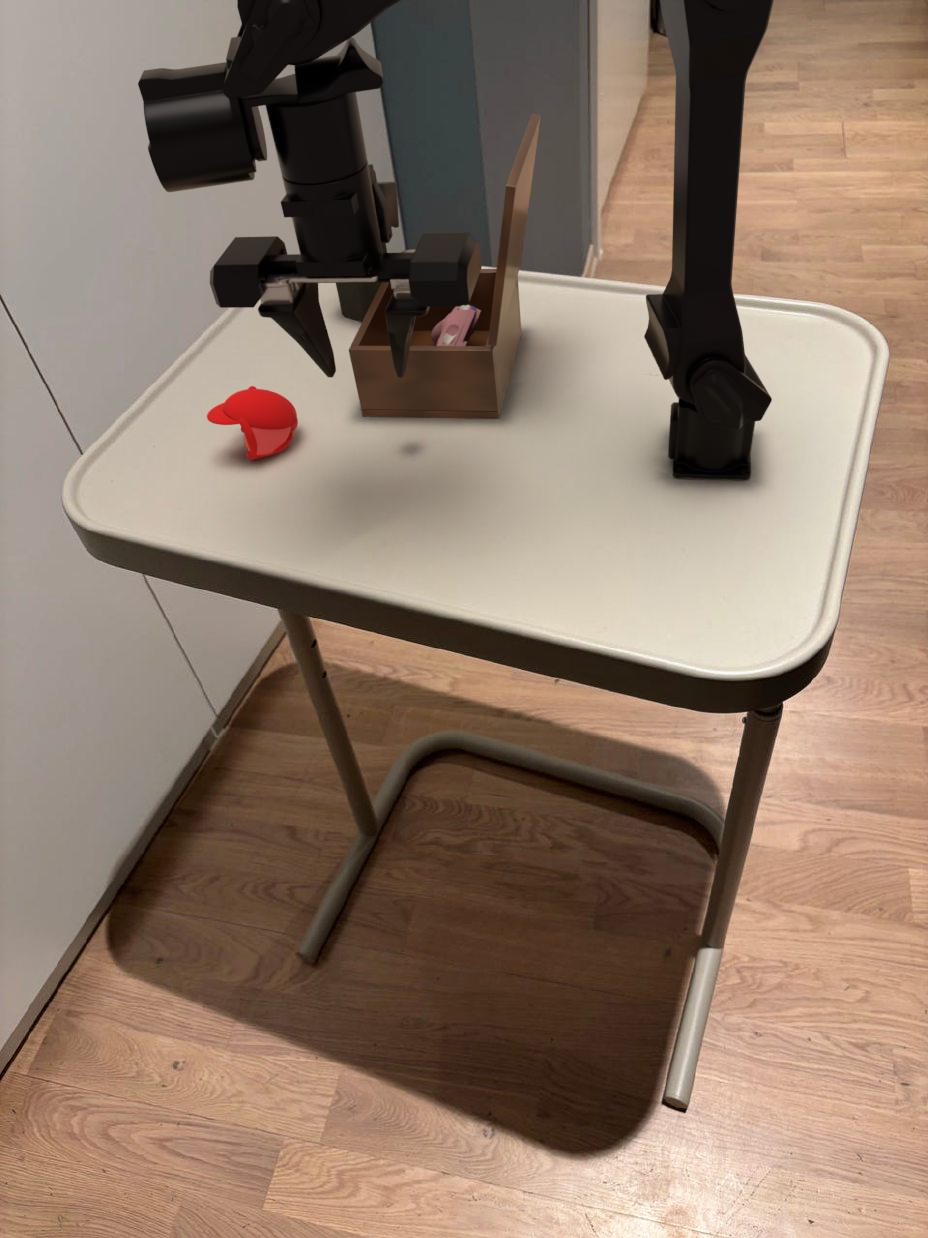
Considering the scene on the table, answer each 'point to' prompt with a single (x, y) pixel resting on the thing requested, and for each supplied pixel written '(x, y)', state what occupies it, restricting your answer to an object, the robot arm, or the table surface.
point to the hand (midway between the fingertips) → (366, 374)
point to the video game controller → (456, 327)
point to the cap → (258, 419)
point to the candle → (357, 297)
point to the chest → (436, 361)
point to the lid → (513, 227)
